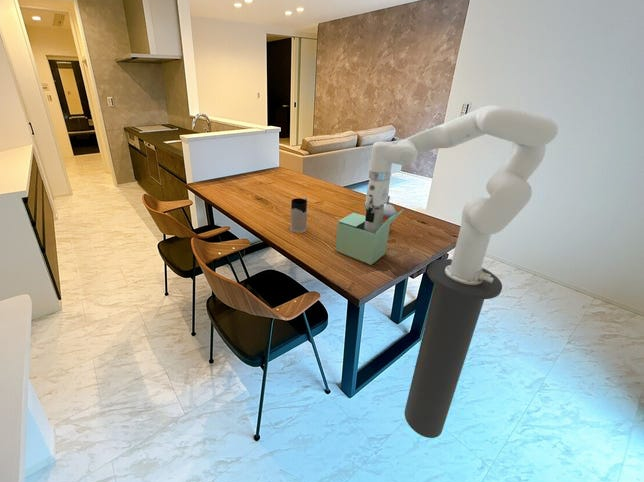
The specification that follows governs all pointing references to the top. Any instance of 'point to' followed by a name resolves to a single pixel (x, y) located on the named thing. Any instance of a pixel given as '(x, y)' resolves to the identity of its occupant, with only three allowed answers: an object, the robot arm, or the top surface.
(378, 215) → the beverage can
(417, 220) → the top surface
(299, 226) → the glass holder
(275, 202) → the top surface
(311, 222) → the top surface
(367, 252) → the carton
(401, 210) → the flap
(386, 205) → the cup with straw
